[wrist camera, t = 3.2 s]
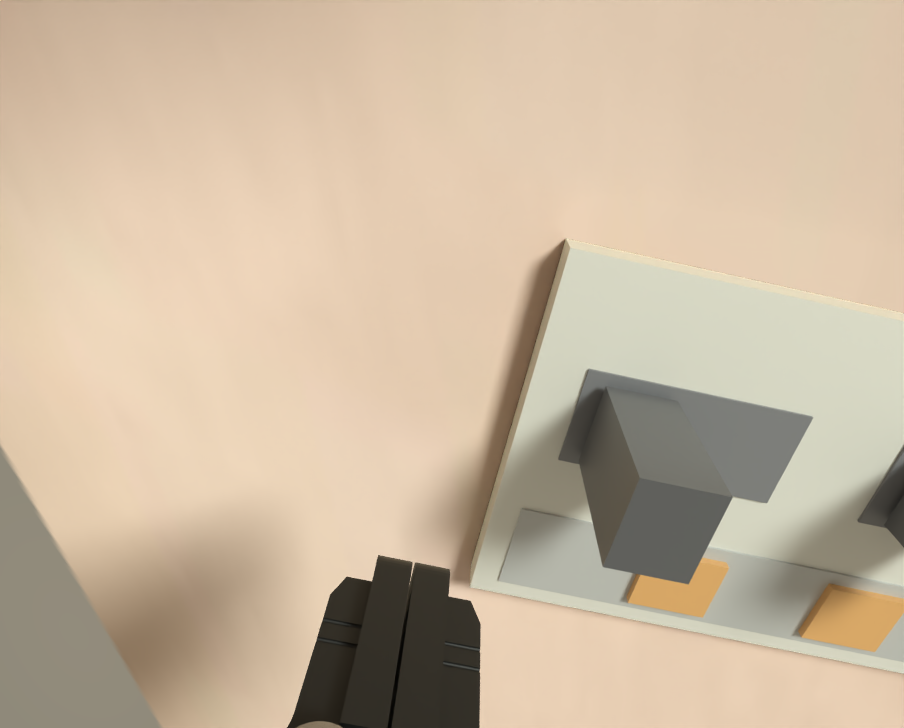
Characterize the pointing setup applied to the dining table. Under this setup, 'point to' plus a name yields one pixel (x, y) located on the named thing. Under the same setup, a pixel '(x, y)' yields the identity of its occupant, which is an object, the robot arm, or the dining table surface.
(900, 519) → the middle switch
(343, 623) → the robot arm
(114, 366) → the dining table surface
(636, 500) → the switch
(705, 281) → the switch panel
